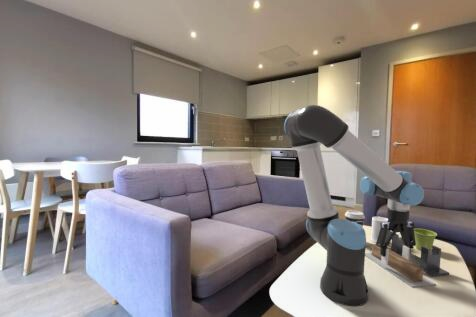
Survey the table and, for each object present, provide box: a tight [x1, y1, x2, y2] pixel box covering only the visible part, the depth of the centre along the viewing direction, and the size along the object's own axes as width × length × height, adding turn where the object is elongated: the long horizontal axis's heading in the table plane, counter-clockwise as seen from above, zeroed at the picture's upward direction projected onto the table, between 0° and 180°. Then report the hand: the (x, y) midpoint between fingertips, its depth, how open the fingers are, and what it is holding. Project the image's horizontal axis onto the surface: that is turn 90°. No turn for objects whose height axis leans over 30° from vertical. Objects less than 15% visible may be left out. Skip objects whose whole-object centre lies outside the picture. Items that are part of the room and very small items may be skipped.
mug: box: [370, 216, 388, 244], centre depth 125 cm, size 12×8×12 cm
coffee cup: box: [344, 209, 366, 227], centre depth 126 cm, size 10×10×15 cm
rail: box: [371, 243, 424, 282], centre depth 99 cm, size 3×22×5 cm, turn 10°
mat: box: [365, 252, 437, 288], centre depth 99 cm, size 10×26×1 cm, turn 10°
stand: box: [387, 233, 450, 278], centre depth 105 cm, size 8×24×9 cm, turn 10°
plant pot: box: [414, 228, 438, 251], centre depth 117 cm, size 9×9×9 cm
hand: (394, 262), depth 99 cm, fingers open, 9 cm apart
